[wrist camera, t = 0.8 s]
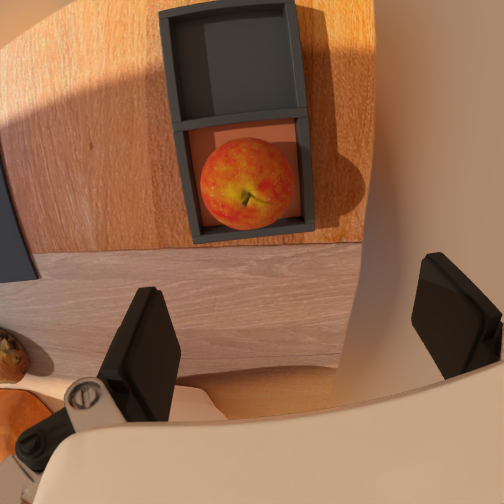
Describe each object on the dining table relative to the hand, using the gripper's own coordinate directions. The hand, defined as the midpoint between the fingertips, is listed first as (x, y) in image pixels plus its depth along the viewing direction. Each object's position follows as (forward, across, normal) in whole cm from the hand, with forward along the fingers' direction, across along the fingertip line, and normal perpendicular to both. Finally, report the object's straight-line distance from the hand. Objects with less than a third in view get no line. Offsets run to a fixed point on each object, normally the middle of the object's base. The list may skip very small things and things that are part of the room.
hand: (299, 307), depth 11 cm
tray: (+19, +2, -6) cm, 20 cm away
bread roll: (+19, +43, +19) cm, 50 cm away
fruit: (+18, +2, -1) cm, 18 cm away
